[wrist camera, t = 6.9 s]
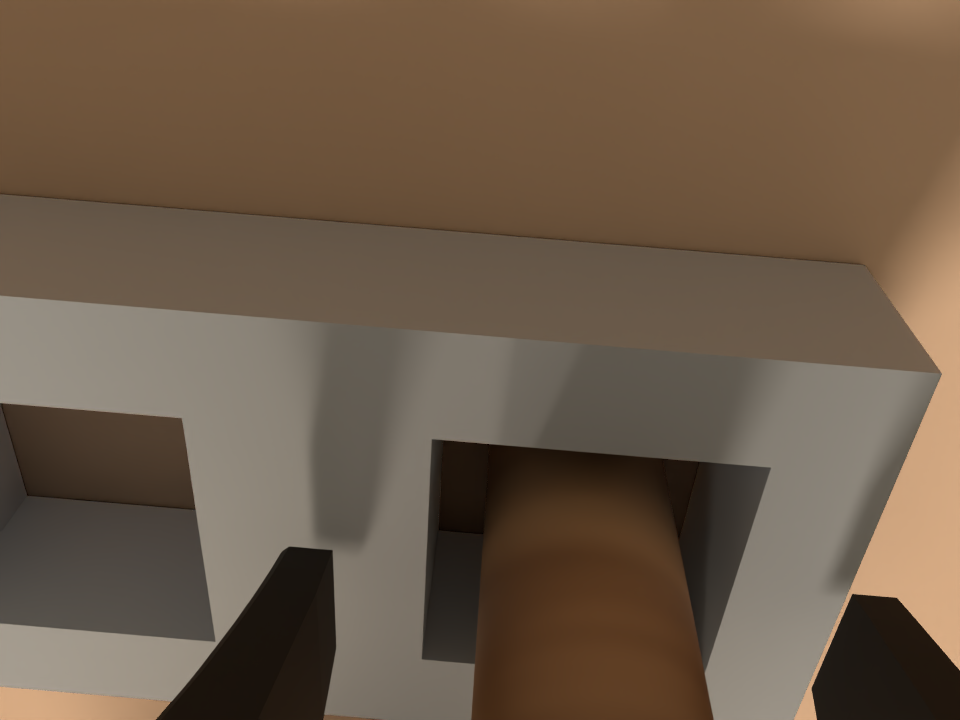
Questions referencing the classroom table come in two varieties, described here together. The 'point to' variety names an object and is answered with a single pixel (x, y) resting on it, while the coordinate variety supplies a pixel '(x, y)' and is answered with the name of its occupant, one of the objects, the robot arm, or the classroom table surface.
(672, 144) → the classroom table surface
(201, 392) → the hole block
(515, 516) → the peg
